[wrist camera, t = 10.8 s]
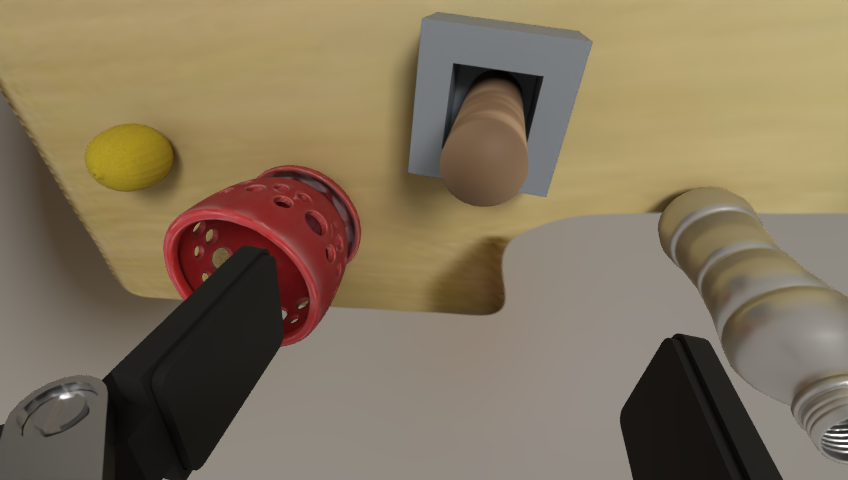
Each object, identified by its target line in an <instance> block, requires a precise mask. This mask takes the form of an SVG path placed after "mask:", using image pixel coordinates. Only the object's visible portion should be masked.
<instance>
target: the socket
mask: <svg viewBox="0 0 848 480" xmlns="http://www.w3.org/2000/svg"><path fill="white" fill-rule="evenodd" d="M591 46H592V41H591V40H590V39H588V38H587V37H586V36H584V35H583V34H582V33H580V32H579V31H573V30H565V29H558V28H550V27H543V26H536V25H528V24H521V23H514V22H506V21H499V20H491V19H484V18H477V17H469V16H462V15H455V14H447V13H440V12H437V13H434V14H432V15H429V16H427V17H424V18H422V24H421V35H420V46H419V57H418V68H417V79H416V90H415V101H414V112H413V123H412V134H411V145H410V156H409V167H408V173H412V174H417V175H423V176H429V177H434V178H440V179H442V177H441V173H440V157H441V153H442V150H443V148H444V145H445V143H446V141H447V138H448V136H449V134H450V131H451V129H452V127H453V125H454V122H455V120H456V118H457V115H458V113H459V111H460V108H461V106H462V104H463V101H464V99H465V97H466V95H467V92H468V90H469V88H470V86H471V84H472V82H473V81H474V80H475V79H476V78H477V77H478V76H479V75H480V74H482V73H484V72H486V71H489V70H502V71H505V72H508V73H509V74H511V75H512V76H513V77H514V78H515V79H516V80H517V81H518V83H519V85H520V87H521V91H522V101H523V111H524V121H525V131H526V142H527V152H528V162H529V166H528V173H527V177H526V180H525V182H524V184H523V186H522V187H521V188H520V190H519V191H518V192H520V193H526V194H531V195H537V196H543V197H546V196H547V193H548V189H549V186H550V183H551V179H552V176H553V173H554V169H555V166H556V163H557V159H558V156H559V153H560V149H561V146H562V143H563V139H564V136H565V133H566V129H567V126H568V123H569V119H570V116H571V113H572V109H573V106H574V103H575V99H576V96H577V93H578V89H579V86H580V82H581V79H582V76H583V72H584V69H585V66H586V62H587V59H588V56H589V52H590V49H591Z"/></svg>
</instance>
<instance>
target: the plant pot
mask: <svg viewBox="0 0 848 480" xmlns="http://www.w3.org/2000/svg"><path fill="white" fill-rule="evenodd" d="M199 222H200V225H199V227H198V228H197V229H196V230H195V231H194V232H193V229H194V227H195V226H196V225H197V224H198V223H199ZM210 229H213V236H212V238H211V239H210V240H209V241H208V242H206V233H207V232H208V231H209V230H210ZM360 237H361V228H360V221H359V217H358V214H357V211H356V209H355V207H354V205H353V203H352V201H351V200H350V198H349V197H348V195H347V194H346V193H345V192H344V190H343V189H342V188H341V187H340V186H339V185H338V184H336V183H335V182H334V181H333V180H331V179H330V178H329V177H327V176H325V175H324V174H322V173H320V172H318V171H315V170H313V169H310V168H306V167H301V166H294V165H286V166H279V167H275V168H272V169H269V170H267V171H265V172H264V173H262V174H261V175H260V176H258V177H257V178H256V179H253V180H249V181H245V182H242V183H239V184H236V185H233V186H230V187H228V188H226V189H224V190H222V191H220V192H217V193H215V194H213V195H211V196H209V197H208V198H206V199H204V200H203V201H201V202H199V203H197V204H196V205H194V206H193V207H191V208H190V209H188V210H187V211H185V212H184V213H182V214H181V215H179V216H178V217H177V218H176V219H175V220H174V221H173V222H172V224H171V225H170V226H169V228H168V230H167V232H166V235H165V239H164V247H163V250H164V258H165V264H166V268H167V271H168V274H169V276H170V279H171V281H172V282H173V284H174V286H175V288H176V289H177V291H178V292H179V294H180V295H181V297H182V298H183V299H184V301H185V300H186V299H187V298H188V297H189V296H190V295H191V294H192V293H193V292H194V291H195V290H196V289H197V288H198V287H199V286H200V285H201V284H202V283H203V280H202V274H203V273H207V275H208V276H209V277H210V276H211V275H212V274H213V273H214V272H215V271H216V270H217V268H216V267H215V266H214V264H213V262H212V257H213V253H214V252H215V251H216V249H218V248H221V247H223V248H225V249H226V250H227V251H228V253H229V256H231V255H233V254H234V253H235V252H236V251H237V250H238V249H239V248H240V247H241V246H243V245H249V246H254V247H259V248H264V249H267V250H268V251H269V252H270V256H273V257H274V258H275V259H276V266H277V274H278V283H279V292H280V301H281V310H284V311H286V312H287V316H286V317H285V319H284V320H283V327H284V338H283V342H282V344H281V346H280V347H282V346H287V345H291V344H294V343H296V342H298V341H301V340H302V339H304V338H306V337H307V336H308V335H309V334H310V333H311V332H312V331H313V330H314V328H315V327H316V326H317V325H318V323H319V322H320V321H321V319H322V318H323V316H324V315H325V313H326V311H327V310H328V308H329V306H330V305H331V303H332V301H333V299H334V297H335V294H336V292H337V290H338V287H339V285H340V282H341V280H342V277H343V274H344V271H345V267H346V264H347V263H348V262H350V261H351V259H352V258H353V257H354V256H355V254H356V252H357V250H358V247H359V243H360ZM197 246H198V247H199V253H198V255H197V256H195V253H194V251H195V248H196V247H197ZM305 301H309V302H308V304H307V305H306V306H304V307H303V308H301V309H298V307H299V305H301V304H302V303H303V302H305ZM295 319H298V320H297V321H296V322H294V323H291V322H292V321H293V320H295Z"/></svg>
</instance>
